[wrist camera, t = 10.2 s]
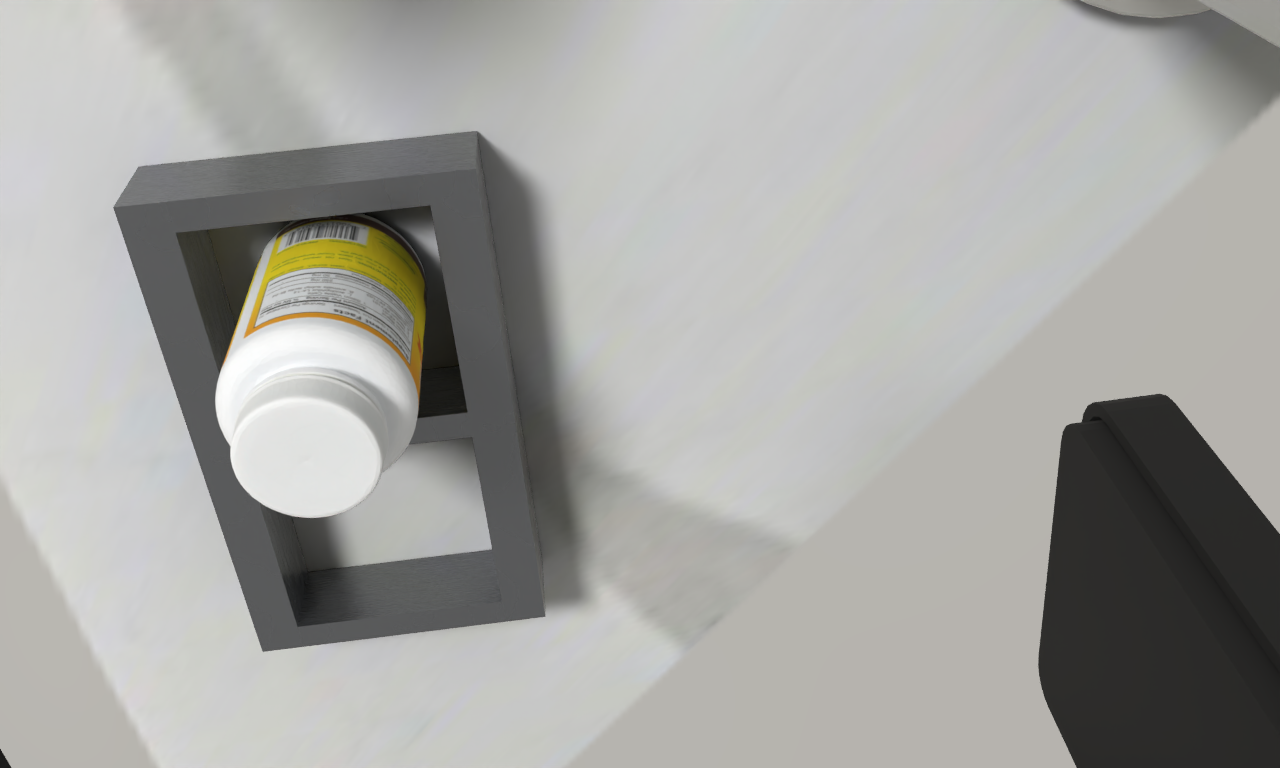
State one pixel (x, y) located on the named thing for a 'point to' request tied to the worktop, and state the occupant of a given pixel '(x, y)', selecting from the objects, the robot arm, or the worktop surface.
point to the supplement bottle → (324, 365)
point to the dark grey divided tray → (449, 397)
